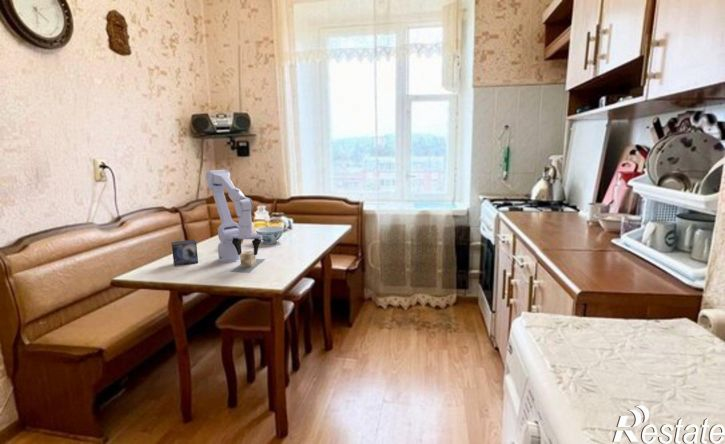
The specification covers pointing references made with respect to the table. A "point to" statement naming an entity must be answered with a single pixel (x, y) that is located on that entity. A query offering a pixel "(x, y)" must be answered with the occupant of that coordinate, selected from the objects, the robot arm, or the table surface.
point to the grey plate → (247, 269)
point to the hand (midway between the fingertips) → (247, 254)
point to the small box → (184, 252)
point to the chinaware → (270, 233)
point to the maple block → (247, 259)
